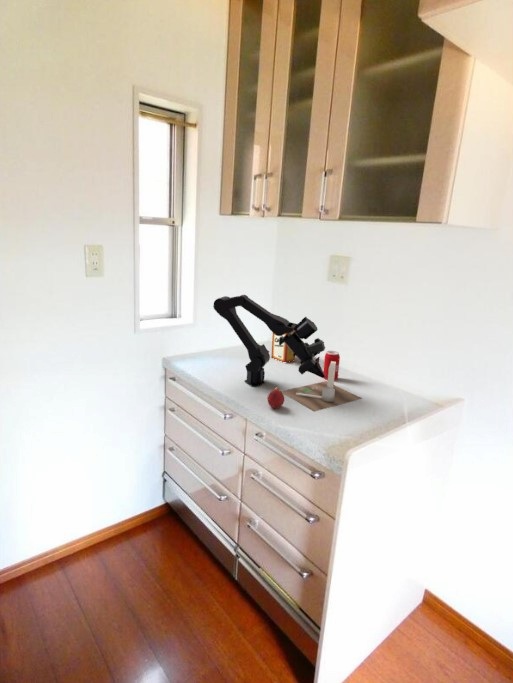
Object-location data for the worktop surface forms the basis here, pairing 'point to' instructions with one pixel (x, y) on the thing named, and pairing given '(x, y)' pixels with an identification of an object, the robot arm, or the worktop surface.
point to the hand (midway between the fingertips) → (324, 377)
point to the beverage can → (328, 358)
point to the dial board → (317, 389)
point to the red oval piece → (275, 398)
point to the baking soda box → (281, 349)
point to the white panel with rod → (329, 390)
